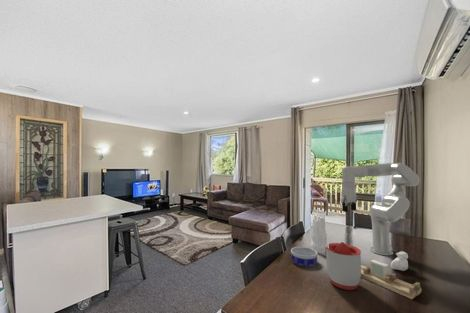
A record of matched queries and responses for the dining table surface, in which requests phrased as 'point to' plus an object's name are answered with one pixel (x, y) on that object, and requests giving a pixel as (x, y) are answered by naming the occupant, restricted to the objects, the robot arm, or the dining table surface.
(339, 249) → the citrus juicer
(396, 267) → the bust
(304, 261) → the dog bowl
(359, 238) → the dining table surface
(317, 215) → the white crystal cluster
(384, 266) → the frame block
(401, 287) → the wooden rack
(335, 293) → the dining table surface
